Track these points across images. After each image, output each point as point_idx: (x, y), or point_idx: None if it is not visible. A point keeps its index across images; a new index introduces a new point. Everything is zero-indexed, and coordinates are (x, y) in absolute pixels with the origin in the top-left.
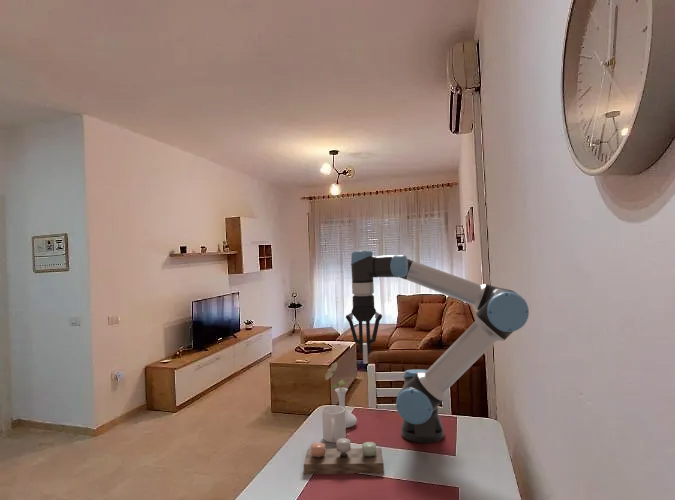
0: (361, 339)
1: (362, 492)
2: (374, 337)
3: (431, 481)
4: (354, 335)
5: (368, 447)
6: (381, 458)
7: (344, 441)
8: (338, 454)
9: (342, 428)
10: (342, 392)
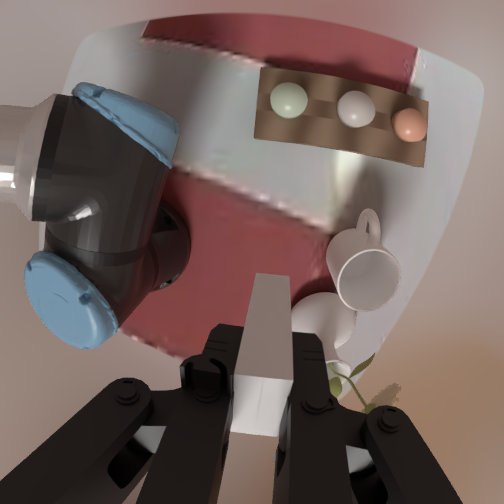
0: (311, 441)
1: (312, 23)
2: (99, 421)
3: (177, 47)
4: (422, 483)
5: (292, 86)
6: (261, 87)
7: (355, 105)
8: None
9: (341, 242)
10: (332, 359)
